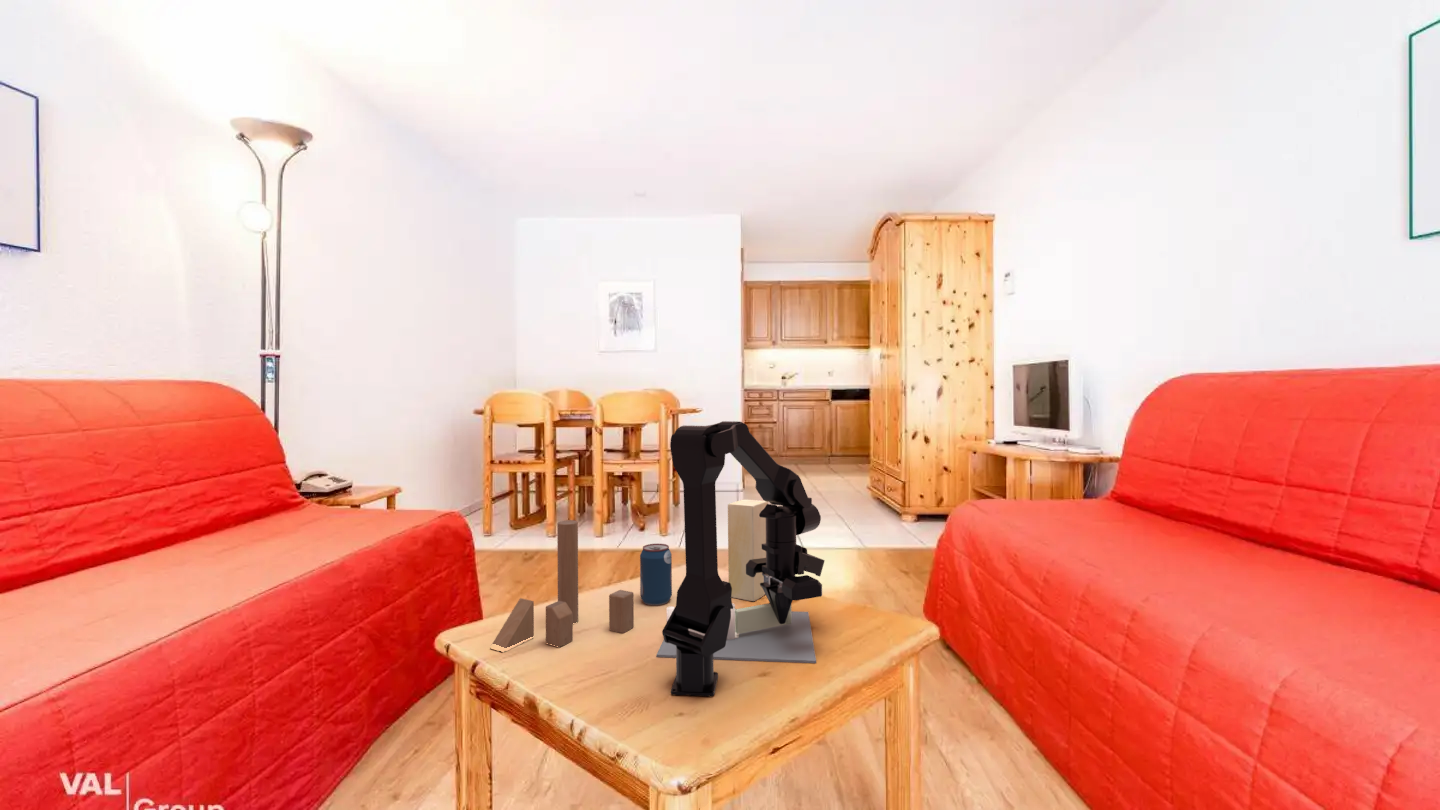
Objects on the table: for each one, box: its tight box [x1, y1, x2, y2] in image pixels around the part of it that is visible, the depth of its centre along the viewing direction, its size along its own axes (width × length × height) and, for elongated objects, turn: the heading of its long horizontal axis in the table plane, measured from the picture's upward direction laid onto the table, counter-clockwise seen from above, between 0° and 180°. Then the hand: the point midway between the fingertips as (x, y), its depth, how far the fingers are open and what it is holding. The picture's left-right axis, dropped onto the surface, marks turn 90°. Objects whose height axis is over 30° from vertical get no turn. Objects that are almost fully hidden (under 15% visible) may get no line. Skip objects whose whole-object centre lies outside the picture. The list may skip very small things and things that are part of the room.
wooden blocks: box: [491, 519, 635, 648], centre depth 102 cm, size 17×20×20 cm
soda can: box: [639, 543, 673, 606], centre depth 121 cm, size 7×7×12 cm
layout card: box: [655, 602, 817, 664], centre depth 103 cm, size 22×27×6 cm
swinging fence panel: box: [735, 602, 792, 634], centre depth 103 cm, size 2×12×4 cm, turn 115°
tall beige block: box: [727, 499, 769, 602], centre depth 125 cm, size 8×7×21 cm
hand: (782, 623), depth 102 cm, fingers closed
